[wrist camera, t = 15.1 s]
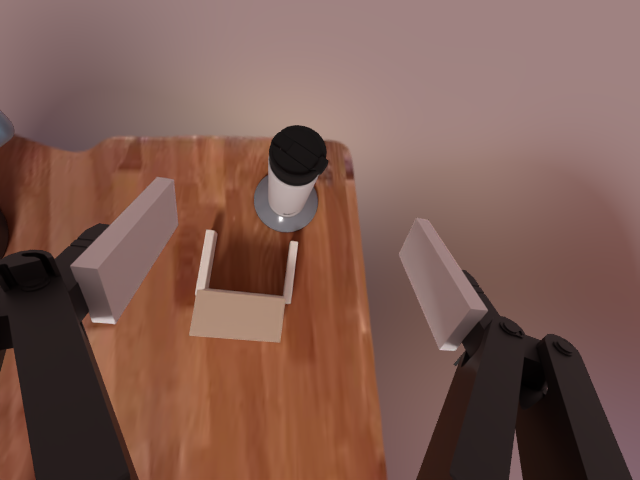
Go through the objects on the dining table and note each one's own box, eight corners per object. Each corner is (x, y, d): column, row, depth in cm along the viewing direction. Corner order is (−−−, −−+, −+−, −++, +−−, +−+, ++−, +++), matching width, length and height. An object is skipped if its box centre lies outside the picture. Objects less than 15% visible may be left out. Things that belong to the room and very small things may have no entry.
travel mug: (292, 226, 49) (309, 190, 30) (260, 203, 49) (256, 152, 29) (312, 198, 50) (341, 146, 31) (282, 176, 50) (291, 109, 31)
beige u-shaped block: (210, 232, 47) (199, 223, 40) (296, 244, 50) (301, 237, 42) (193, 326, 45) (179, 334, 37) (285, 333, 47) (288, 343, 40)
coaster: (242, 187, 49) (242, 185, 49) (299, 162, 52) (299, 160, 51) (272, 243, 49) (272, 242, 48) (327, 215, 51) (328, 214, 51)
